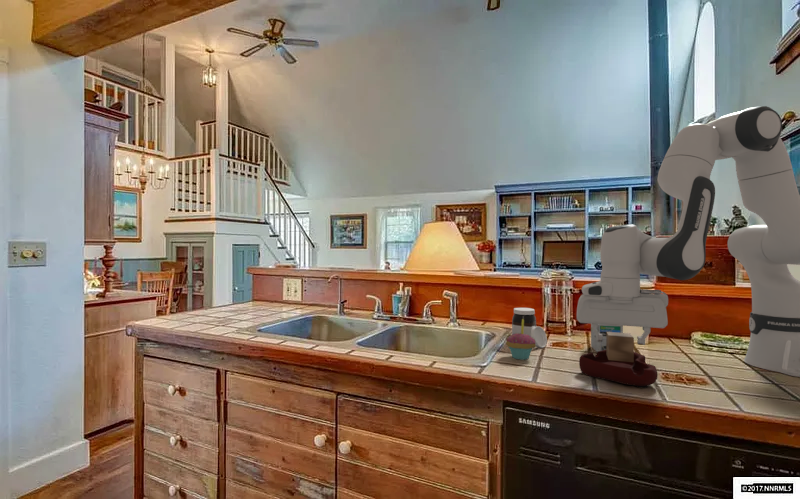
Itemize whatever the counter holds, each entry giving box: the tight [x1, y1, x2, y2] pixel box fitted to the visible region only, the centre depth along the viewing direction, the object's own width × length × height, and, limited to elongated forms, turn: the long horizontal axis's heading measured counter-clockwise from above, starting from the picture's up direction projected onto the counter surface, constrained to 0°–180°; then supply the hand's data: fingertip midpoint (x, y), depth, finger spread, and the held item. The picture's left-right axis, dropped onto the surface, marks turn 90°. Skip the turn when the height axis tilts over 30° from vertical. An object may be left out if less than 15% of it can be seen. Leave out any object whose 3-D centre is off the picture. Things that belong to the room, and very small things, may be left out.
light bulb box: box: [590, 324, 624, 353], centre depth 125 cm, size 11×7×11 cm, turn 168°
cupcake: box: [505, 316, 537, 361], centre depth 118 cm, size 9×8×12 cm
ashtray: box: [578, 350, 658, 389], centre depth 102 cm, size 18×16×5 cm
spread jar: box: [511, 307, 548, 349], centre depth 133 cm, size 12×11×12 cm
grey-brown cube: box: [606, 332, 635, 362], centre depth 101 cm, size 6×6×6 cm
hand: (619, 342), depth 101 cm, fingers open, 8 cm apart
